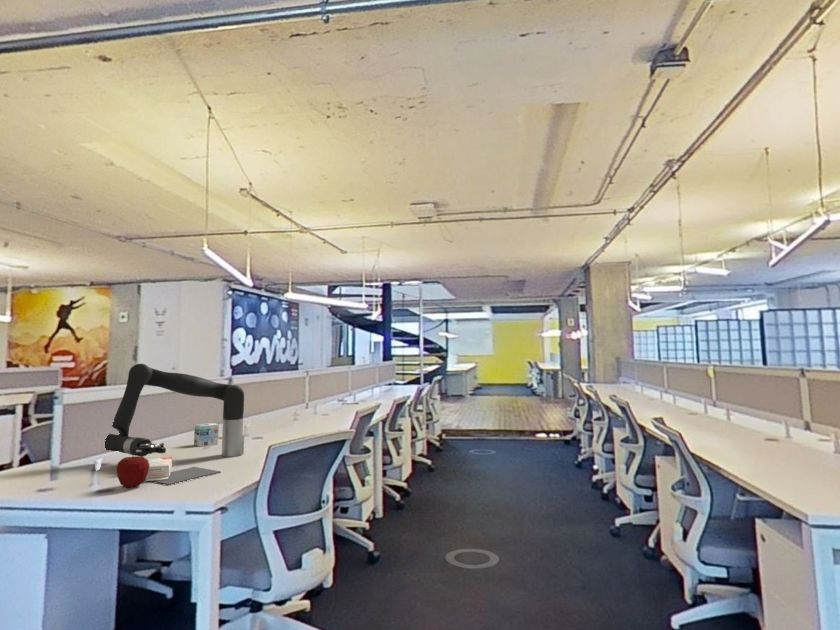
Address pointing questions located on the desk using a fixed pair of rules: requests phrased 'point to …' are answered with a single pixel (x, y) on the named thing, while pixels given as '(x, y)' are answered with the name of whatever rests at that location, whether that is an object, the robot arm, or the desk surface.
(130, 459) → the apple
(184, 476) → the rubber mat
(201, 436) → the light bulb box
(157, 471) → the ink cartridge box
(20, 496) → the desk surface
